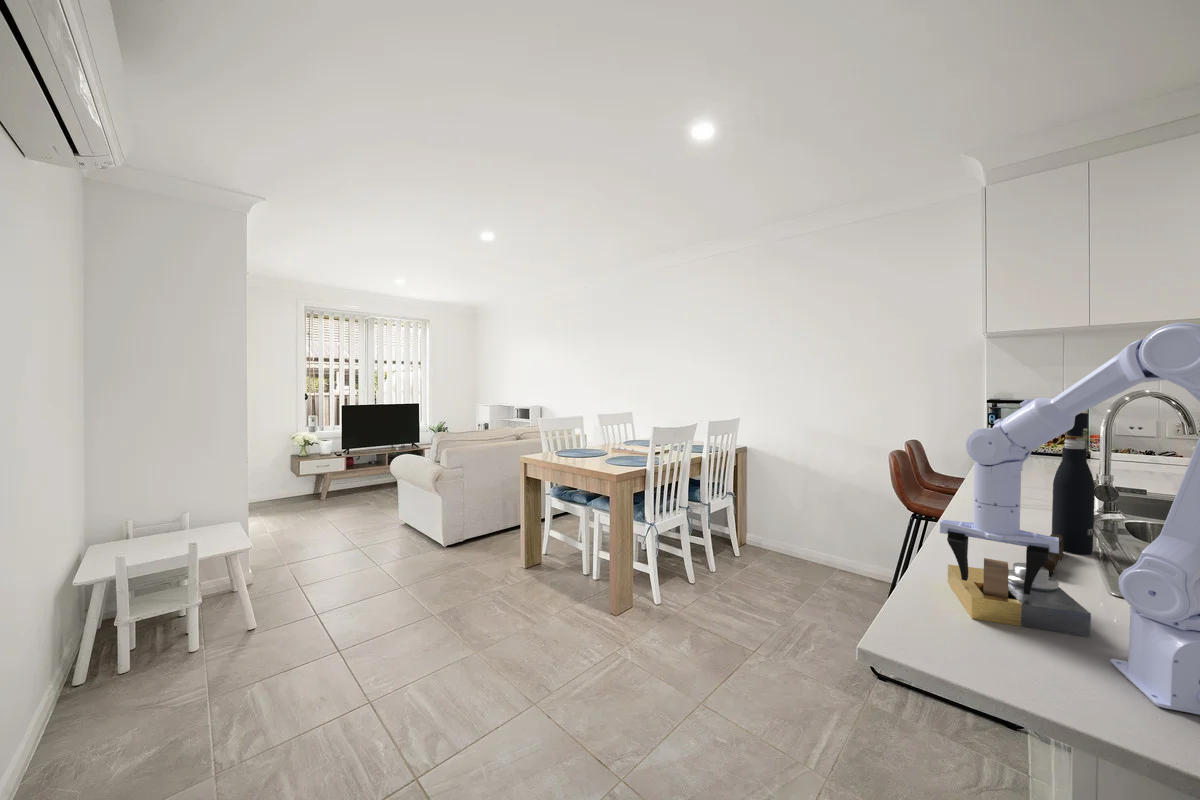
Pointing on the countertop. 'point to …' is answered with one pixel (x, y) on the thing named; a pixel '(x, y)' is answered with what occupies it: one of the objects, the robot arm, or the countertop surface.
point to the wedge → (995, 578)
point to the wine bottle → (1074, 493)
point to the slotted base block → (1021, 601)
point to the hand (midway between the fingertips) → (994, 585)
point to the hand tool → (1054, 556)
